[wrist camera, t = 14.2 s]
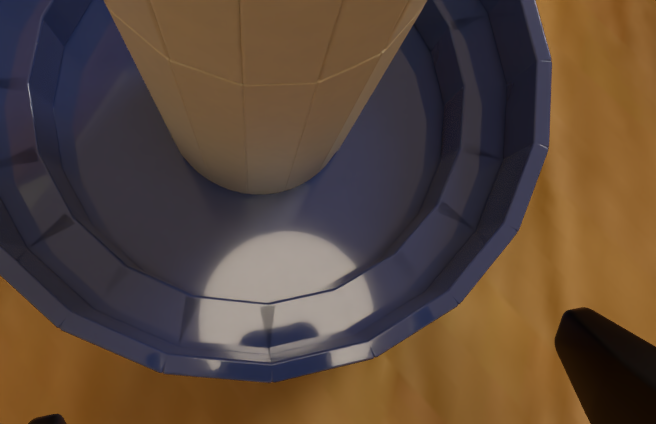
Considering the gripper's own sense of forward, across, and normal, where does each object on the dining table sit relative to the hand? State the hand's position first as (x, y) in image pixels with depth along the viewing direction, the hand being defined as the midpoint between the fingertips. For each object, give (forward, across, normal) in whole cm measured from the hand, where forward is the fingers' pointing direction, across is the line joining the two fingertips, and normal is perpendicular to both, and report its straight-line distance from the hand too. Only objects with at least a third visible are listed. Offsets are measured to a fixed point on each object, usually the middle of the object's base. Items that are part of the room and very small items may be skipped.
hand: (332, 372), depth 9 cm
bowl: (+12, 0, 0) cm, 12 cm away
